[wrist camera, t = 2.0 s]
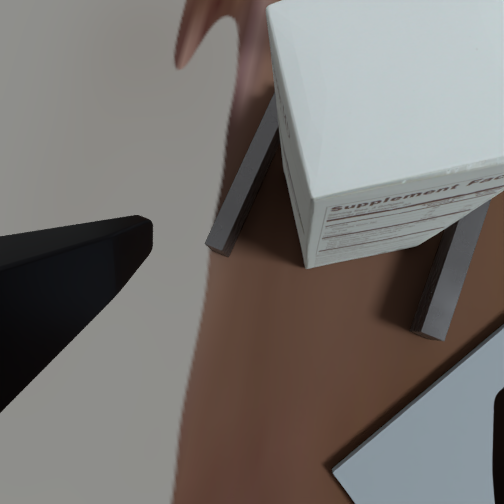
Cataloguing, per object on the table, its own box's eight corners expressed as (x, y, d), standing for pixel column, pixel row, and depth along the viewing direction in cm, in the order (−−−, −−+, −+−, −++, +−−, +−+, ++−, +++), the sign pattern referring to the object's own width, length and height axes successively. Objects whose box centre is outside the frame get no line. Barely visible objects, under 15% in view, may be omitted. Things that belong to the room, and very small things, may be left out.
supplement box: (281, 169, 23) (259, -5, 11) (389, 146, 22) (495, -69, 10) (302, 272, 21) (304, 201, 9) (420, 250, 21) (593, 141, 9)
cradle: (429, 339, 20) (619, 358, 8) (212, 250, 23) (120, 170, 11) (515, 84, 22) (752, -182, 11) (310, 36, 25) (319, -212, 14)
